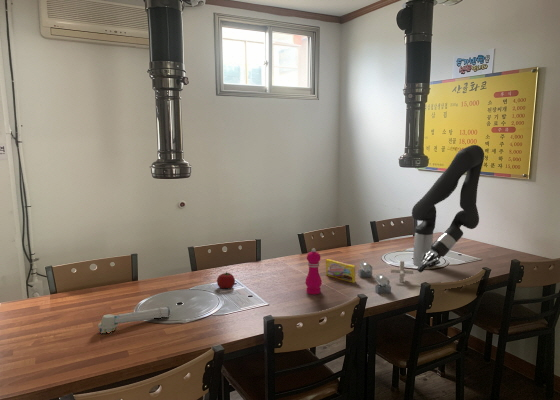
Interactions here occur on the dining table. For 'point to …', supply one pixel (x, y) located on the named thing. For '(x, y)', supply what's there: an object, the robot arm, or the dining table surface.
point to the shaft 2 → (382, 285)
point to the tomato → (225, 280)
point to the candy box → (340, 270)
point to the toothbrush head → (130, 318)
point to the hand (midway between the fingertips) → (418, 271)
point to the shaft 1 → (365, 270)
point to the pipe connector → (401, 271)
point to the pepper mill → (313, 273)
